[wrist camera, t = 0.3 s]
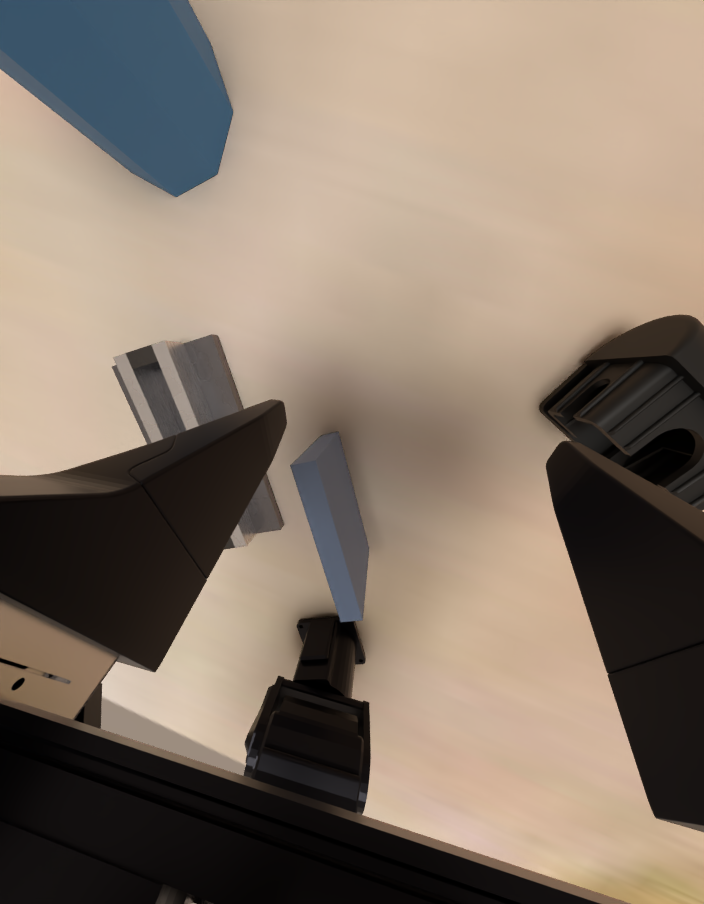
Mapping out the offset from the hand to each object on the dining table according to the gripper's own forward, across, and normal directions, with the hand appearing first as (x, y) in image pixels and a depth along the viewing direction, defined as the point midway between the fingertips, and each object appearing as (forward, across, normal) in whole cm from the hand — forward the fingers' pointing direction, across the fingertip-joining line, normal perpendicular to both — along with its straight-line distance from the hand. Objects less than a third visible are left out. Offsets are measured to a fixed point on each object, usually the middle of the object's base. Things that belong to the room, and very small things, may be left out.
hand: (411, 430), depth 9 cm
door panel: (+8, +4, +14) cm, 17 cm away
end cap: (+14, -16, +5) cm, 21 cm away
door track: (+9, +17, +12) cm, 23 cm away
